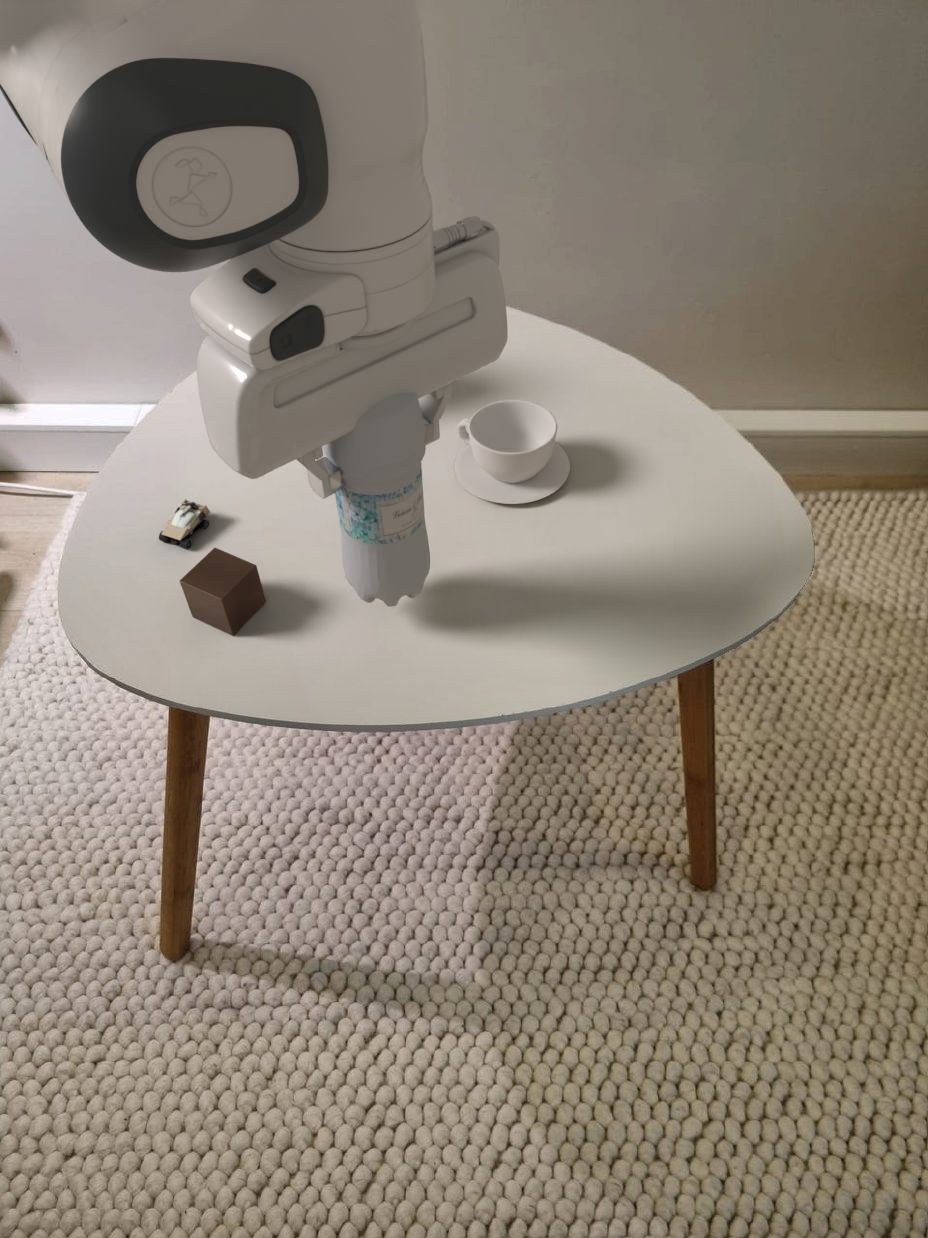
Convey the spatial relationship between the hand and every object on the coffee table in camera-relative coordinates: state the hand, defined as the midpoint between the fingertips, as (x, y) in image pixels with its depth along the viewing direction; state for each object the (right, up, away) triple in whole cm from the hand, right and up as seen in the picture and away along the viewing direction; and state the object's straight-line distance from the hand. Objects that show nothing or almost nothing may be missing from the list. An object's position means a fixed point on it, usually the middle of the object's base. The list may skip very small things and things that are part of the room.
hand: (376, 464), depth 62 cm
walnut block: (-12, -9, +10) cm, 18 cm away
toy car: (-17, -3, +17) cm, 24 cm away
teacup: (+10, +3, +20) cm, 23 cm away
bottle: (0, -8, +8) cm, 11 cm away
